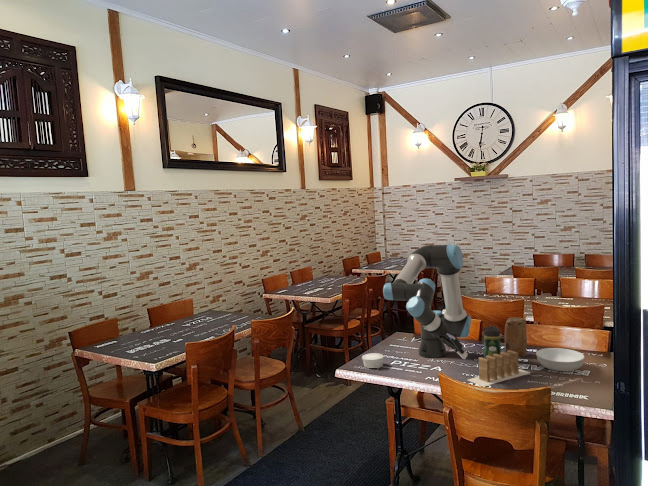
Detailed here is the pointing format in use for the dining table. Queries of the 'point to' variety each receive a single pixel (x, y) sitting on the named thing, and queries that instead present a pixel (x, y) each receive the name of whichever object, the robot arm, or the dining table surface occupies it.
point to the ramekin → (373, 360)
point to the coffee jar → (491, 341)
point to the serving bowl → (560, 359)
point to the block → (516, 336)
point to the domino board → (483, 383)
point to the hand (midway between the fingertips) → (465, 356)
